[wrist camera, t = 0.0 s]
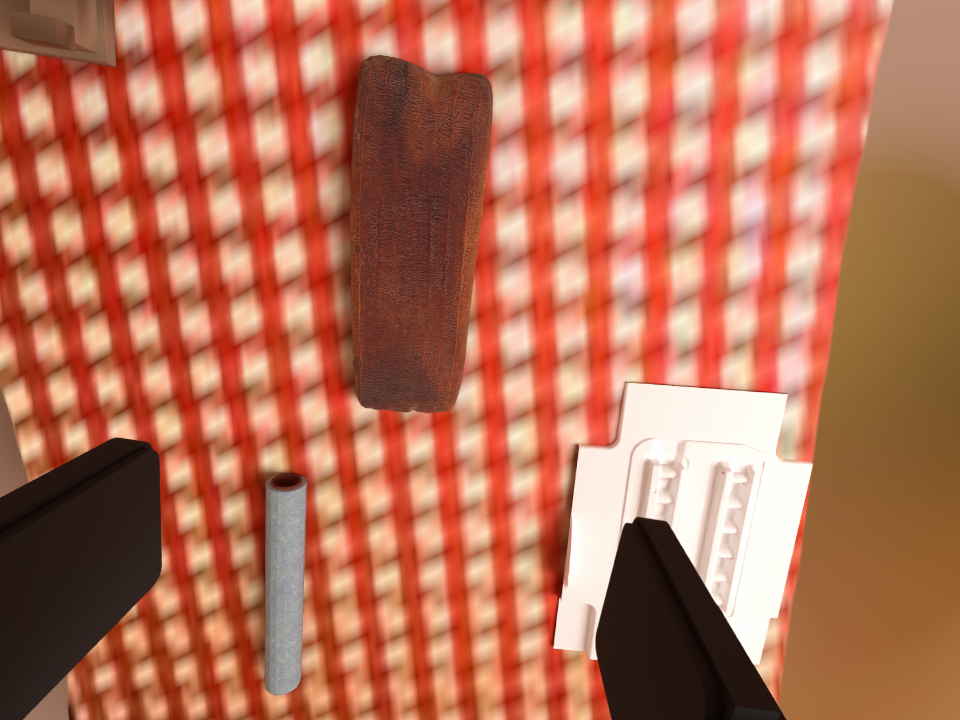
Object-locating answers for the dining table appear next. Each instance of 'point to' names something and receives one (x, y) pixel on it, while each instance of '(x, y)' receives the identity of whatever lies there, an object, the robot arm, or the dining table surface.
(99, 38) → the rack
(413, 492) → the dining table surface
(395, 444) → the dining table surface
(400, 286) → the wooden tablet
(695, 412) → the tray
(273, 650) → the grey tube
